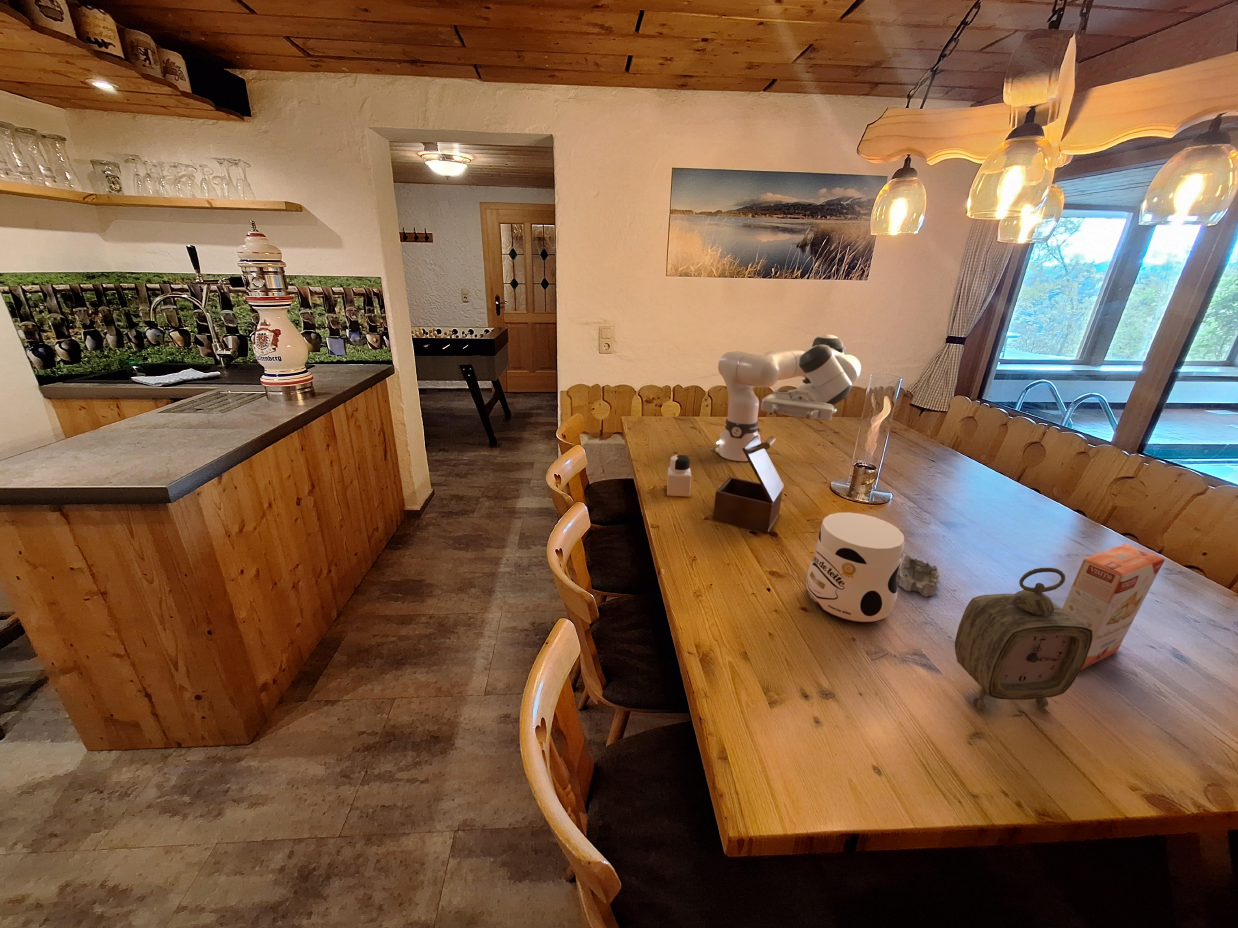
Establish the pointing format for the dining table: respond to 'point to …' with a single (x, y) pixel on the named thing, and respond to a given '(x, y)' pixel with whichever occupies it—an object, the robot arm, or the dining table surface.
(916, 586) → the egg carton
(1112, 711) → the dining table surface
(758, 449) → the chest lid
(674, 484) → the medicine bottle
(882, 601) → the milk container
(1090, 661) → the cracker box
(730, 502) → the chest
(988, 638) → the tabletop clock
